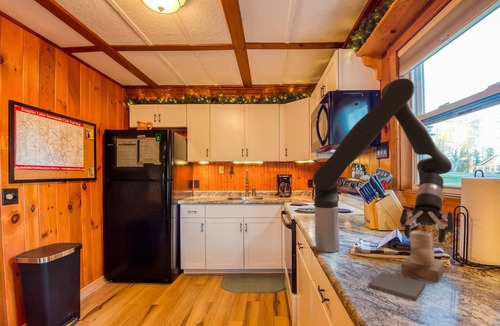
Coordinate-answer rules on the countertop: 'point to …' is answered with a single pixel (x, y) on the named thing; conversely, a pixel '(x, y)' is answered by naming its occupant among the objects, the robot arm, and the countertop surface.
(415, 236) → the maple block
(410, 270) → the walnut ledge
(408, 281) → the slate mat
